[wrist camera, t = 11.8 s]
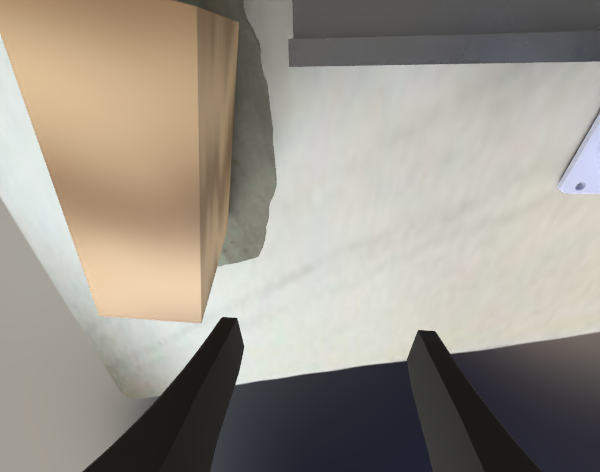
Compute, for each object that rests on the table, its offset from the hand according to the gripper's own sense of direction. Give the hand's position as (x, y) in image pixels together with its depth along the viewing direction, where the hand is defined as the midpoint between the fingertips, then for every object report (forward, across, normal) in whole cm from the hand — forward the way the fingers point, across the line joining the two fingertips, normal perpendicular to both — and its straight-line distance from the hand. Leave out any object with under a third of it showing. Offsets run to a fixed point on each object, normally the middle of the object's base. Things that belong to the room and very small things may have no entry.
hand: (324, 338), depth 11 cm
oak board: (+9, +8, -5) cm, 13 cm away
